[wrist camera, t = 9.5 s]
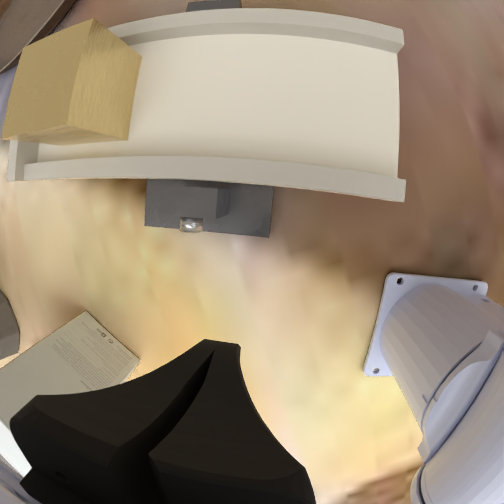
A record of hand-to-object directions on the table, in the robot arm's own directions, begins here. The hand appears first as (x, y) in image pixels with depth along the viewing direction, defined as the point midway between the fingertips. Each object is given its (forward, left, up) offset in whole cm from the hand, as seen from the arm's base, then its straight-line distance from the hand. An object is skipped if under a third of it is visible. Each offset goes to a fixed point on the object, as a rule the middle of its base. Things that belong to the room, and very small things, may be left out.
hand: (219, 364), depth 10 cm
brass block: (+9, -11, -5) cm, 15 cm away
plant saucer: (+27, -28, -10) cm, 40 cm away
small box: (+13, +9, -10) cm, 18 cm away
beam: (+3, -11, -6) cm, 13 cm away
